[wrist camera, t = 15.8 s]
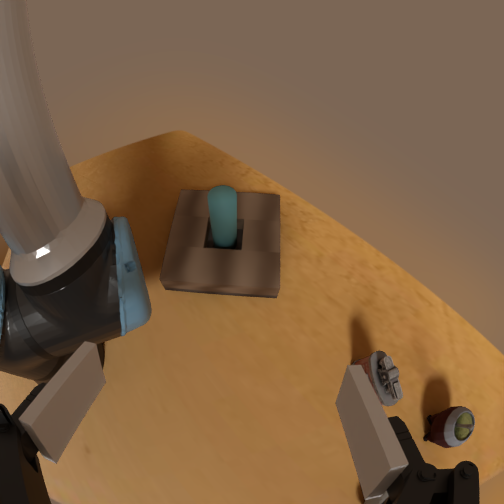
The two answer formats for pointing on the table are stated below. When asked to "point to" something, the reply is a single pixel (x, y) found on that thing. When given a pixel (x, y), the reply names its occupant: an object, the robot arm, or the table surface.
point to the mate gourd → (451, 427)
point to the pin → (223, 216)
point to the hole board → (224, 260)
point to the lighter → (382, 377)
